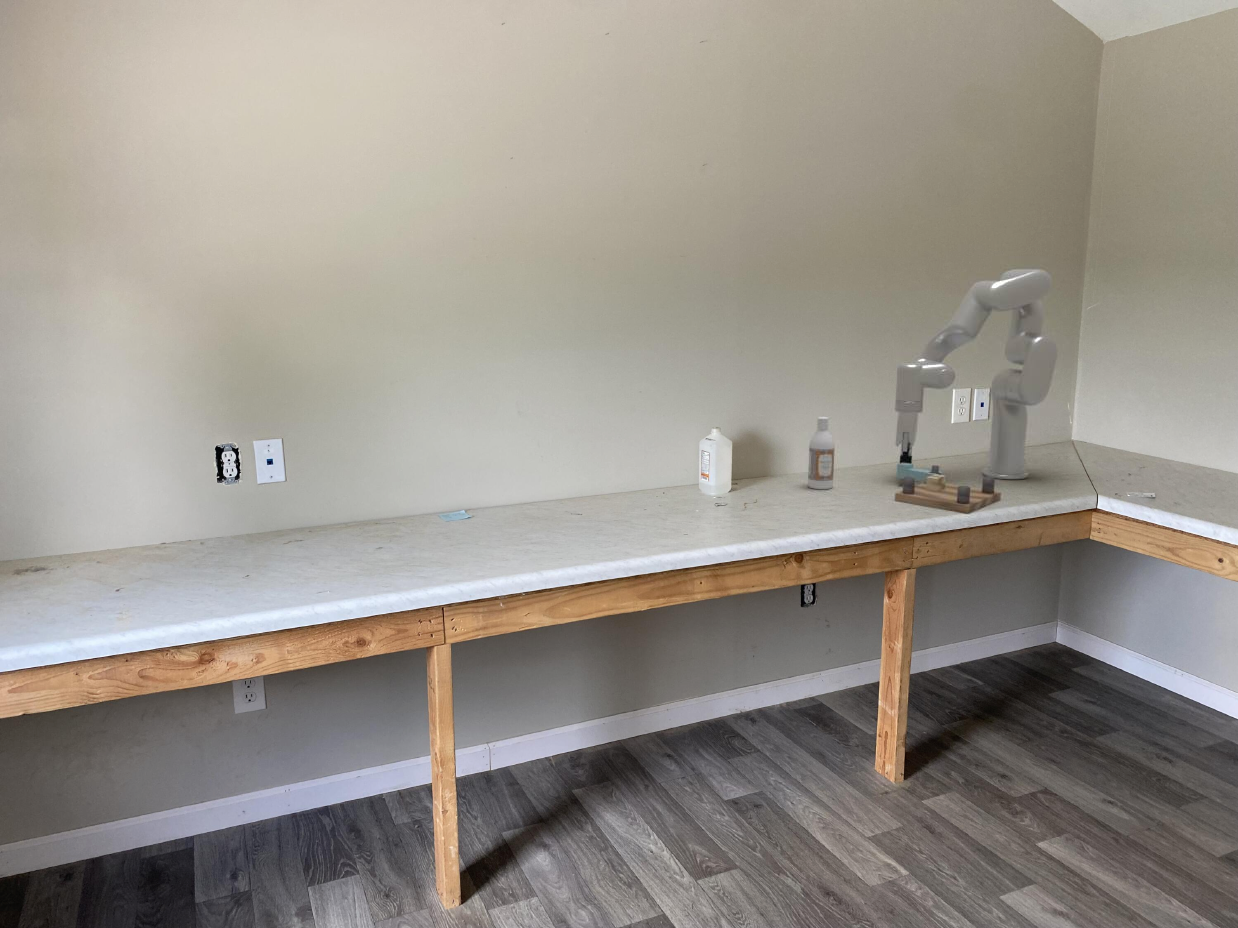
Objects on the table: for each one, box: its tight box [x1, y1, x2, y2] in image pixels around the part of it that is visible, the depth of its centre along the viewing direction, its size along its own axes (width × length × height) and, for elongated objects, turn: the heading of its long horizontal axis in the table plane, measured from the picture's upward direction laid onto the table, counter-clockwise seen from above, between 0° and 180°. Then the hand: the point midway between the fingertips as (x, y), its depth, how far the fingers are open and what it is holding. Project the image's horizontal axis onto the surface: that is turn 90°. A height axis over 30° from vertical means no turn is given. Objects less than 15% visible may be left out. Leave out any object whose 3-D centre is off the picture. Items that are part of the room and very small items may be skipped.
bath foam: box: [807, 416, 835, 490], centre depth 258 cm, size 7×7×20 cm
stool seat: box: [894, 464, 1002, 514], centre depth 243 cm, size 20×20×7 cm
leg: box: [896, 462, 944, 483], centre depth 257 cm, size 12×4×4 cm, turn 45°
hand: (905, 468), depth 265 cm, fingers closed
